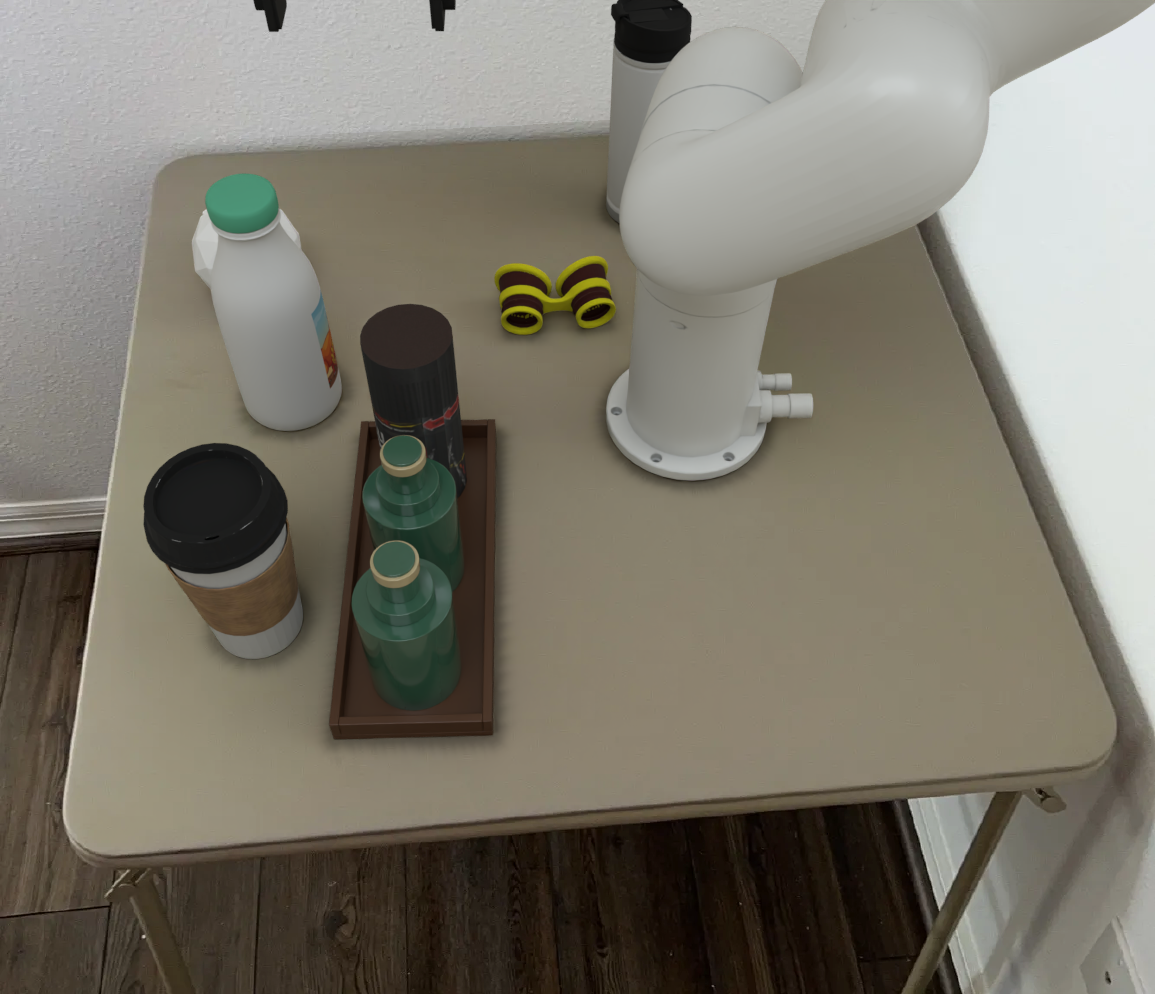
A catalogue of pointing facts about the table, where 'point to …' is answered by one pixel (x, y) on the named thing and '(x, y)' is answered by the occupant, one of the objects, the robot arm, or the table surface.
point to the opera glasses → (577, 288)
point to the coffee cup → (228, 545)
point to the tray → (473, 599)
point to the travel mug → (638, 76)
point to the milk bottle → (270, 309)
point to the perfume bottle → (208, 243)
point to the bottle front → (407, 628)
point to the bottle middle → (415, 505)
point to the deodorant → (415, 382)
